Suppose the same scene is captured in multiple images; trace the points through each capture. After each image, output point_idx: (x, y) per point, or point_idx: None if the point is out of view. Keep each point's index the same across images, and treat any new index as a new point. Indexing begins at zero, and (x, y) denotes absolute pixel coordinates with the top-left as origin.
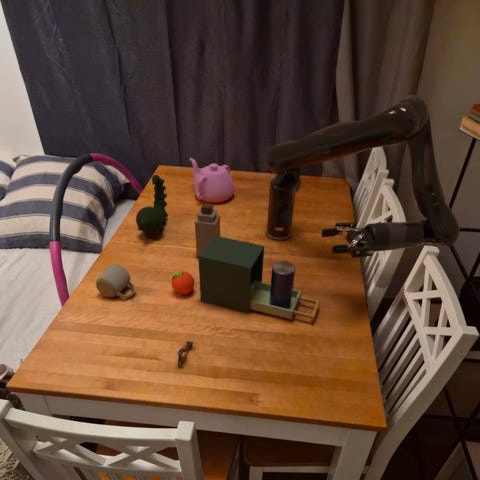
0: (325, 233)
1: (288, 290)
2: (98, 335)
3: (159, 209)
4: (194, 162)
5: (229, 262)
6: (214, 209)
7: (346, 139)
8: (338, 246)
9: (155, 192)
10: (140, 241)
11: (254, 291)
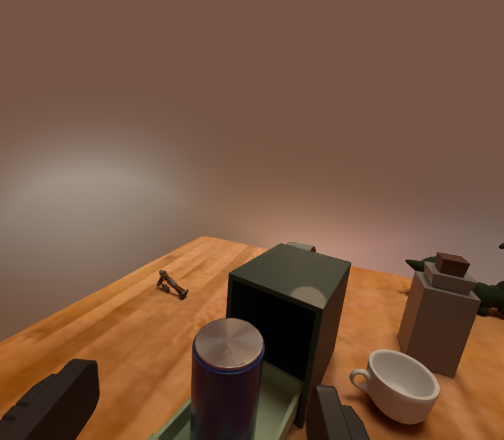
0: (313, 425)
1: (191, 400)
2: (233, 257)
3: (486, 287)
4: None
5: (256, 258)
6: (472, 280)
7: None
8: (46, 385)
9: None
10: (408, 289)
11: (282, 395)
